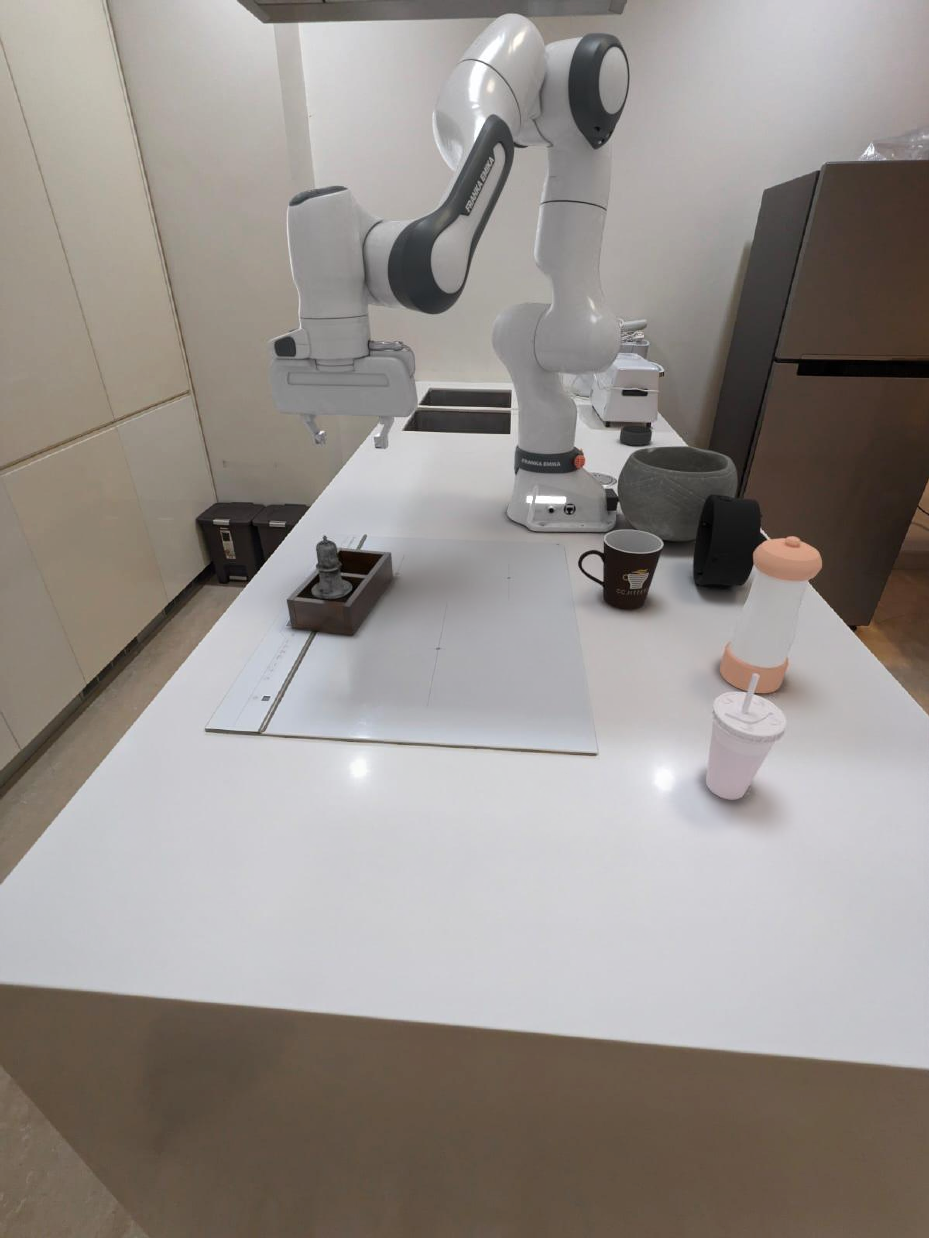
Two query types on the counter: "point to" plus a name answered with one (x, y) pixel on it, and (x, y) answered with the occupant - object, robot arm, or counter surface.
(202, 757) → the counter surface
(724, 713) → the smoothie
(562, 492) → the robot arm
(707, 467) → the bowl
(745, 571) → the black cylinder
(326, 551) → the salt shaker
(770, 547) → the pepper shaker
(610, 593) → the coffee mug
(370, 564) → the divided wooden box
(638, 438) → the smart speaker
